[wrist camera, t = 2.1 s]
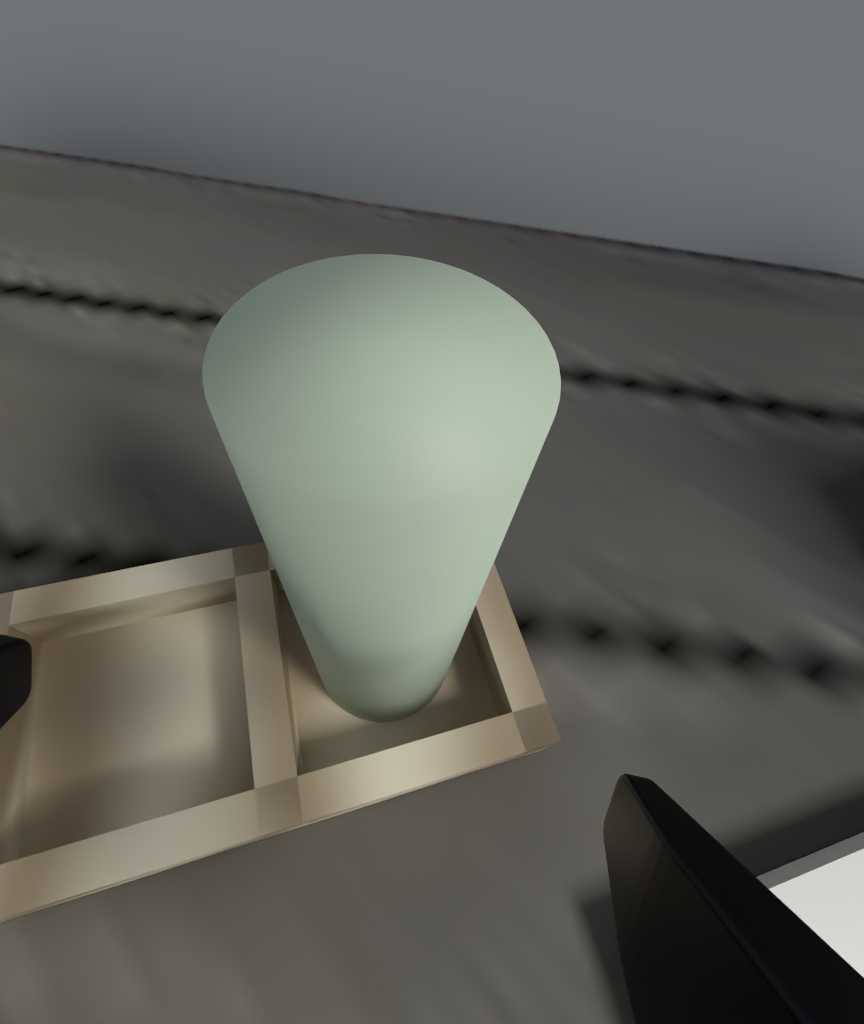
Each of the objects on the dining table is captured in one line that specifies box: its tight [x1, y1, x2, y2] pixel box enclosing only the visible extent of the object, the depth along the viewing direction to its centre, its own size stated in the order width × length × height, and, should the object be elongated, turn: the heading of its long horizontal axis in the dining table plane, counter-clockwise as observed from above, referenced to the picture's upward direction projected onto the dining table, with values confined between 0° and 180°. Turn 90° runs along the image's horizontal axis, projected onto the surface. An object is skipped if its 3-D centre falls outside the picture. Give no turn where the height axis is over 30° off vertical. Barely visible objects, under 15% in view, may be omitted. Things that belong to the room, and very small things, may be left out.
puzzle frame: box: [0, 542, 561, 923], centre depth 17 cm, size 17×9×2 cm, turn 106°
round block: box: [202, 254, 561, 723], centre depth 13 cm, size 5×5×14 cm
